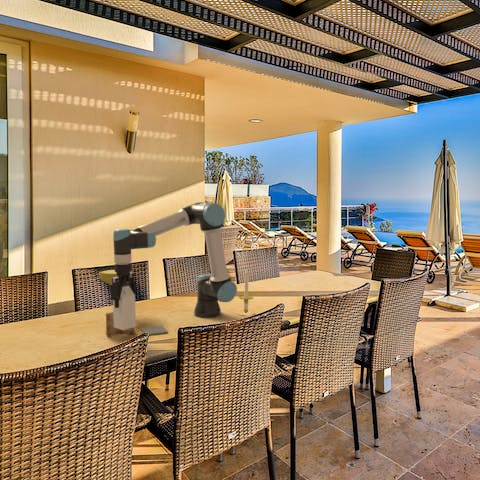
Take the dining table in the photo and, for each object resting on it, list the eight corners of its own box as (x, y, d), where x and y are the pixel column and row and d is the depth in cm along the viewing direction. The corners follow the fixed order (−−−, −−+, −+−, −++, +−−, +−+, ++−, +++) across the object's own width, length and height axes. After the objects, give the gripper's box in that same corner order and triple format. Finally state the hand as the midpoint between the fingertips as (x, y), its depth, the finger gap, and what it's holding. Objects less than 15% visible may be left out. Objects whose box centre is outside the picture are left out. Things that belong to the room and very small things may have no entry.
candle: (255, 311, 246) (256, 266, 243) (253, 316, 236) (254, 269, 233) (238, 311, 247) (239, 265, 244) (236, 315, 237) (237, 268, 234)
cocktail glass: (118, 308, 247) (118, 266, 244) (139, 314, 237) (139, 270, 234) (92, 315, 232) (91, 271, 229) (114, 321, 222) (113, 275, 219)
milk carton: (113, 327, 192) (112, 287, 190) (126, 323, 198) (125, 284, 196) (123, 330, 188) (121, 289, 186) (136, 326, 194) (134, 286, 191)
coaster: (162, 326, 214) (162, 325, 214) (167, 333, 204) (167, 331, 204) (140, 329, 210) (140, 327, 210) (145, 335, 200) (145, 334, 200)
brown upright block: (133, 330, 207) (133, 309, 206) (135, 334, 202) (135, 311, 201) (105, 334, 201) (105, 311, 200) (107, 337, 197) (106, 314, 196)
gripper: (129, 259, 201) (131, 305, 203) (100, 266, 181) (102, 317, 184) (143, 260, 198) (144, 306, 201) (115, 267, 178) (116, 319, 181)
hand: (124, 311), depth 192 cm, fingers closed on milk carton, 8 cm apart
